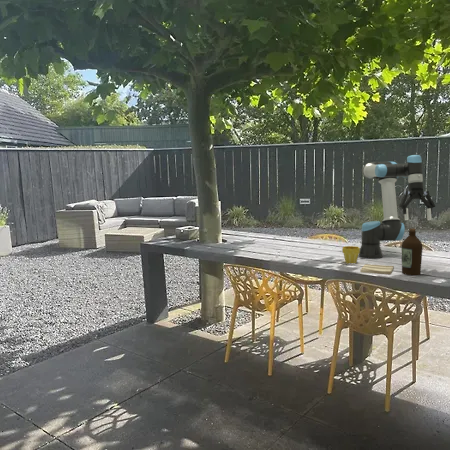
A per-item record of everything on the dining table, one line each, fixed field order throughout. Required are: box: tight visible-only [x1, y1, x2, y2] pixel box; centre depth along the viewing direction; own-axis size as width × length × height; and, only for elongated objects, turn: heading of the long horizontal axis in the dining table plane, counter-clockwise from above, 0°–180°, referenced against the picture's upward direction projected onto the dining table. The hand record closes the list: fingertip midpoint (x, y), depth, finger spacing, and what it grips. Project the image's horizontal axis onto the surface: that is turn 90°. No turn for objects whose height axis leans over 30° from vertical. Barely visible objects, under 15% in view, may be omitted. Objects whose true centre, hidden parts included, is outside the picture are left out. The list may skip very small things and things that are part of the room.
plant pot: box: [341, 245, 361, 264], centre depth 268 cm, size 10×10×10 cm
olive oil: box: [400, 228, 423, 277], centre depth 234 cm, size 11×11×25 cm
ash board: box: [360, 263, 395, 276], centre depth 246 cm, size 16×16×2 cm
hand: (418, 220), depth 239 cm, fingers open, 13 cm apart
